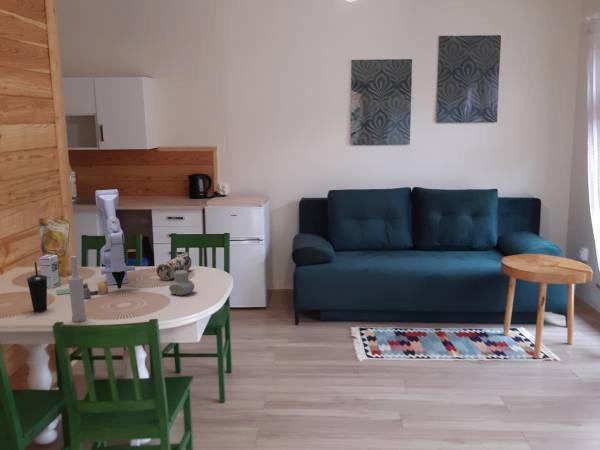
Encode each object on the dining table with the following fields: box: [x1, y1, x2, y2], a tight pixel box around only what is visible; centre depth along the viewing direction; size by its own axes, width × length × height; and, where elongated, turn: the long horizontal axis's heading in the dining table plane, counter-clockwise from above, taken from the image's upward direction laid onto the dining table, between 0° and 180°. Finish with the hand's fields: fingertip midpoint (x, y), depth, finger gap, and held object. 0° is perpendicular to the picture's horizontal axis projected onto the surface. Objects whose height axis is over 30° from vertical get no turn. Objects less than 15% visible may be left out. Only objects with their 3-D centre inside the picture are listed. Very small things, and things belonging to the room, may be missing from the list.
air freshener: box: [168, 270, 195, 296], centre depth 246 cm, size 11×8×10 cm
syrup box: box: [39, 255, 62, 289], centre depth 259 cm, size 6×6×14 cm
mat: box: [56, 288, 70, 296], centre depth 251 cm, size 7×7×1 cm
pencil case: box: [155, 252, 192, 281], centre depth 275 cm, size 22×8×10 cm, turn 163°
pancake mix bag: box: [37, 217, 71, 278], centre depth 278 cm, size 7×19×28 cm, turn 65°
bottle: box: [67, 255, 87, 323], centre depth 213 cm, size 5×5×25 cm
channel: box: [83, 282, 92, 300], centre depth 244 cm, size 6×12×4 cm, turn 27°
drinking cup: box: [26, 262, 48, 313], centre depth 225 cm, size 8×8×20 cm
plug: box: [90, 280, 109, 296], centre depth 247 cm, size 9×4×5 cm, turn 116°
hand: (119, 287), depth 251 cm, fingers closed
